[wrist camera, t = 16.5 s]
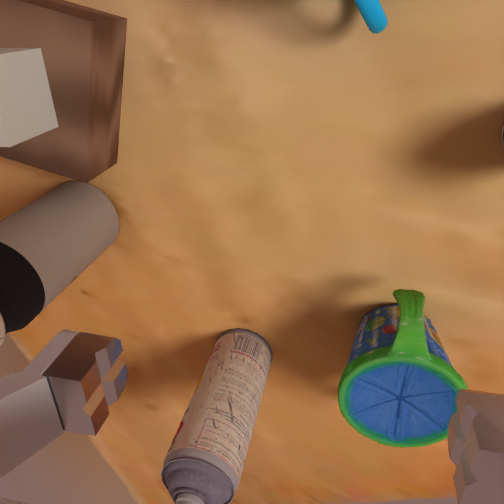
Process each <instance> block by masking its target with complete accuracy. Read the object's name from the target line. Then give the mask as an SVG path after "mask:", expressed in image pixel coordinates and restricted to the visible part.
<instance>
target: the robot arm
mask: <svg viewBox="0 0 504 504" xmlns="http://www.w3.org/2000/svg"><path fill="white" fill-rule="evenodd" d="M122 351H123V349H122V345H121V341H120V340H119V339H117V338H113V337H107V336H101V335H95V334H90V333H84V332H76V331H70V330H63V331H60V332H59V333H58V334H57V335H56V336H55V337H54V338H53V339H52V340H51V341H50V342H49V343H48V344H47V345H46V346H45V348H44V349H43V350H42V351H41V352H40V353H39V354H38V355H37V356H36V357H35V358H34V359H33V360H32V362H31V363H30V364H29V365H28V366H27V367H26V368H25V369H24V370H23V371H22V372H14V373H12V374H10V375H8V376H6V377H3V378H1V379H0V478H2V477H3V476H5V475H6V474H7V473H9V472H10V471H12V470H13V469H14V468H16V467H17V466H18V465H20V464H21V463H23V462H24V461H25V460H27V459H28V458H29V457H31V456H32V455H33V454H35V453H36V452H38V451H39V450H41V449H42V448H43V447H45V446H46V445H47V444H49V443H50V442H52V441H53V440H54V439H56V438H57V437H59V436H60V435H61V434H62V433H64V431H69V432H75V433H81V434H87V435H93V436H96V434H97V433H98V431H99V430H100V428H101V426H102V425H103V423H104V422H105V420H106V418H107V417H108V415H109V411H108V406H109V405H111V404H112V403H114V402H116V401H117V400H118V399H119V397H120V396H121V394H122V392H123V390H124V387H125V383H126V380H127V369H126V364H125V362H124V361H123V360H122V359H121V358H120V357H119V355H120V354H121V352H122ZM456 405H457V410H458V411H457V412H456V413H454V414H452V415H451V419H450V422H449V427H448V450H449V456H450V459H451V460H452V462H453V463H454V464H455V465H456V466H457V467H456V470H455V474H454V477H453V478H454V484H455V489H456V494H457V500H458V504H504V394H497V393H490V392H483V391H475V390H468V389H461V390H460V391H459V392H458V395H457V398H456ZM0 504H27V503H23V502H18V501H14V500H10V499H6V498H1V497H0Z"/></svg>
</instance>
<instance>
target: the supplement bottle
mask: <svg viewBox="0 0 504 504" xmlns="http://www.w3.org/2000/svg"><path fill="white" fill-rule="evenodd" d="M502 143H503V146H504V126H503V129H502Z"/></svg>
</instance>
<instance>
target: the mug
mask: <svg viewBox="0 0 504 504" xmlns="http://www.w3.org/2000/svg"><path fill="white" fill-rule="evenodd" d="M354 1H355V3H356V5H357V7H358V9H359V11H360V13H361V15H362V17H363V19H364V21H365V23H366V24H367V26H368V28H369V30H370V31H371V32H372V33H380V32H382V31H383V30H384V29H385V28H386V26H387V23H388V21H387V18H386V15H385V13H384V11H383V9H382V7H381V4H380V2H379V0H354Z"/></svg>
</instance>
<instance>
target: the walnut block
mask: <svg viewBox="0 0 504 504" xmlns="http://www.w3.org/2000/svg"><path fill="white" fill-rule="evenodd" d="M126 28H127V18H124V17H120V16H117V15H113V14H110V13H106V12H103V11H99V10H96V9H92V8H89V7H85V6H82V5H78V4H75V3H71V2H68V1H64V0H0V48H41V51H42V56H43V60H44V65H45V69H46V74H47V78H48V82H49V87H50V91H51V96H52V100H53V104H54V109H55V113H56V118H57V122H58V127H57V128H54V129H52V130H50V131H47V132H45V133H43V134H40V135H38V136H35V137H33V138H31V139H28V140H26V141H24V142H21V143H19V144H16V145H14V146H12V147H0V156H2V157H5V158H8V159H12V160H15V161H18V162H21V163H24V164H27V165H31V166H34V167H37V168H40V169H43V170H46V171H49V172H53V173H56V174H59V175H62V176H65V177H68V178H72V179H75V180H78V181H81V182H84V183H87V182H89V181H90V180H92V179H93V178H95V177H96V176H98V175H100V174H101V173H103V172H104V171H106V170H107V169H109V168H110V167H112V166H113V165H115V164H116V163H117V156H118V142H119V127H120V113H121V99H122V85H123V71H124V56H125V42H126Z"/></svg>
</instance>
